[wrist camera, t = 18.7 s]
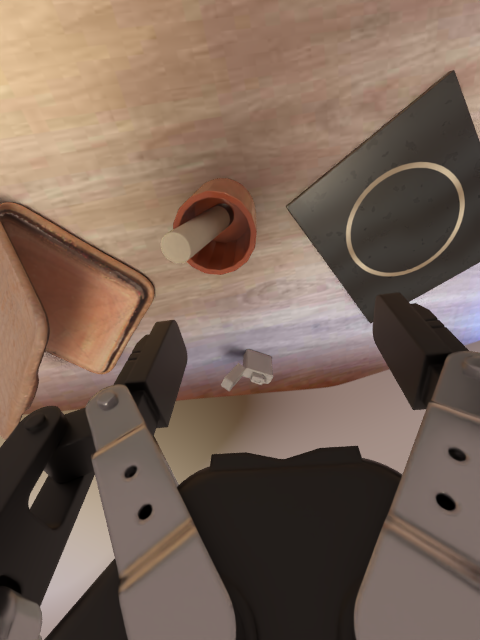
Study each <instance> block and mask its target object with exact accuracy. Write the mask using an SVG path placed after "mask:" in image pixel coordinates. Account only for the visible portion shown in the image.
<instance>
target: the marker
mask: <svg viewBox="0 0 480 640" xmlns="http://www.w3.org/2000/svg"><path fill="white" fill-rule="evenodd" d="M233 219H234V213H233V211H232V209H231V208H230V207H229V206H228V205H227V204H223V203H221V204H218V205H216V206H214V207H212V208H211V209H209V210H207V211H205V212H204V213H202V214H200V215H198V216H196V217H195V218H193V219H191V220H189V221H188V222H186V223H184V224H182V225H181V226H179V227H177V228H175V229H174V230H172V231H170V232H168V233H167V234H165V235H164V236H163V238H162V240H161V249H162V252H163V254H164V256H165V257H166V258H167V259H168V260H169V261H171V262H173V263H175V264H183V263H185V262H187V261H188V260H189V259H190V258H191V257H193V256H194V255H195V254H196V253H197V252H199V251H200V250H201V249H202V248H203V247H205V246H206V245H207V244H208V243H209V242H211V241H212V240H213V239H214V238H215V237H216V236H218V235H219V234H220V233H221V232H222V231H224V230H225V229H226V228H227V227H228V226H230V225H231V224H232V222H233Z"/></svg>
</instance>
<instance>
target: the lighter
mask: <svg viewBox="0 0 480 640" xmlns="http://www.w3.org/2000/svg"><path fill="white" fill-rule="evenodd" d="M242 376H244V377H247V378H250V381H251V382H254V383H257V384H260V385H262V384H263V383H267V384H268V383H270V381H271V379H272V378H273V370H272V357H271V356H269V355H266V354H262V353H259V352H256V351H253V350H250V349H247V350H246V352H245V354H244V356H243V366H242V365H241V364H239V363H238V364H237V365H236V366H235V367H234V368H233V369H232V370H231V371H230V372H229V373H228V374H227V376H226V377H225V378H224V380H223V382H222V384H221V386H222V387H224V388H225V389H227V390H228V391H230V390H231V389H232V387H233V386H234V385H235V384H236V383H237V382H238V380H239V379H240V378H241V377H242Z"/></svg>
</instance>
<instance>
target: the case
mask: <svg viewBox="0 0 480 640" xmlns="http://www.w3.org/2000/svg"><path fill="white" fill-rule="evenodd" d="M153 299H154V288H153V286H152V284H151V283H150V281H149V280H148V279H147V278H145V277H144V276H143V275H141V274H140V273H138V272H137V271H135V270H133V269H131V268H129V267H128V266H126V265H124V264H122V263H121V262H119V261H117V260H115V259H113V258H112V257H110V256H108V255H106V254H104V253H103V252H101V251H99V250H97V249H95V248H94V247H92V246H90V245H88V244H87V243H85V242H83V241H81V240H80V239H78V238H76V237H75V236H73V235H71V234H70V233H68V232H66V231H65V230H63V229H61V228H60V227H58V226H56V225H54V224H53V223H51V222H49V221H48V220H46V219H44V218H43V217H41V216H39V215H37V214H36V213H34V212H32V211H31V210H29V209H27V208H25V207H23V206H21V205H19V204H16V203H12V202H6V203H2V204H0V435H1V437H2V438H4V439H5V440H6V439H7V438H8V437H9V435H10V434H11V433H12V431H13V430H14V429H15V428H16V426H17V425H18V424H19V423H20V420H21V417H22V414H23V412H24V411H26V410H27V409H29V407H30V406H31V404H32V401H33V399H34V397H35V394H36V391H37V388H38V383H39V378H38V371H39V370H38V369H39V366H40V363H41V361H42V358H43V355H44V352H45V351H46V352H48V353H50V354H53V355H55V356H57V357H59V358H61V359H64V360H66V361H68V362H71V363H73V364H75V365H77V366H79V367H82V368H84V369H86V370H88V371H90V372H93V373H97V374H105V373H108V372H110V371H111V370H112V369H113V368H114V366H115V365H116V363H117V361H118V359H119V357H120V356H121V354H122V352H123V350H124V348H125V346H126V345H127V343H128V341H129V339H130V337H131V336H132V334H133V333H134V331H135V329H136V328H137V326H138V324H139V323H140V321H141V319H142V318H143V316H144V314H145V313H146V311H147V310H148V308H149V306H150V305H151V303H152V301H153Z"/></svg>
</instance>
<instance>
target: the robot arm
mask: <svg viewBox="0 0 480 640" xmlns="http://www.w3.org/2000/svg"><path fill="white" fill-rule="evenodd" d="M373 337H374V341H375V344H376V345H377V347H378V349H379V351H380V353H381V354H382V356H383V358H384V360H385V361H386V363H387V365H388V367H389V368H390V370H391V372H392V374H393V376H394V377H395V379H396V381H397V383H398V384H399V386H400V388H401V390H402V391H403V393H404V395H405V397H406V398H407V400H408V402H409V404H410V405H411V407H412V409H413V410H421V409H426V412H425V414H424V417H423V420H422V423H421V425H420V428H419V431H418V434H417V436H416V439H415V442H414V445H413V447H412V450H411V453H410V456H409V458H408V461H407V464H406V467H405V469H404V472H403V475H402V474H401V473H399V472H398V471H396V470H394V469H392V468H390V467H388V466H386V465H383V464H381V463H378V462H376V461H372V460H369V459H365V458H362V457H361V454H360V451H359V448H358V446H347V447H329V448H319V449H316V450H313V451H309V452H306V453H303V454H300V455H297V456H293V457H290V458H287V459H277V458H272V457H266V456H261V455H256V454H251V453H230V454H229V453H228V454H214V455H213V454H212V456H211V464H210V467H207V468H204V469H202V470H200V471H198V472H196V473H194V474H193V475H191V476H190V477H188V478H187V479H186V480H184V481H183V482H182V483H181V484H180V485H179V484H178V482H177V480H176V478H175V477H174V475H173V473H172V470H171V468H170V467H169V465H168V463H167V461H166V459H165V457H164V455H163V453H162V451H161V449H160V447H159V445H158V443H157V441H156V439H155V437H154V433H155V430H156V428H162V427H168V425H169V421H170V418H171V414H172V411H173V408H174V404H175V401H176V398H177V394H178V391H179V388H180V384H181V381H182V377H183V374H184V371H185V367H186V364H187V350H186V347H185V344H184V341H183V338H182V335H181V333H180V330H179V327H178V324H177V322H176V321H175V320H169V321H161V322H156V323H155V325H154V327H153V329H152V331H151V333H150V335H145V336H144V337H143V338H142V339H141V340H140V341H139V342H138V343H137V344H136V346H135V348H134V349H133V351H132V354H131V355H130V356H129V358H128V361H127V362H126V364H125V365H124V367H123V369H122V371H121V372H120V374H119V376H118V378H117V380H116V381H115V383H114V385H111V386H108V387H106V388H104V389H102V390H100V391H99V392H97V393H96V394H95V395H94V396H93V397H92V398H91V399H90V400H89V402H88V403H87V406H86V408H83V409H80V410H77V411H74V412H71V413H68V414H65V415H64V414H63V413H62V411H61V410H60V409H59V408H58V407H56V406H46V407H43V408H40V409H38V410H36V411H34V412H32V413H31V414H29V415H28V416H26V417H25V418H24V419H23V420H22V421H21V422H20V423H19V424H18V425H17V426H16V428H15V429H14V430H13V431H12V433H11V434H10V435H9V437H8V438H7V439H6V441H5V442H4V443H3V445H2V446H1V447H0V640H42V638H41V636H40V631H41V626H42V612H41V609H40V605H41V603H42V600H43V598H44V595H45V593H46V591H47V588H48V586H49V583H50V581H51V579H52V576H53V574H54V571H55V569H56V567H57V564H58V562H59V559H60V557H61V555H62V552H63V550H64V547H65V545H66V543H67V540H68V538H69V535H70V533H71V531H72V528H73V526H74V523H75V521H76V518H77V516H78V514H79V511H80V509H81V506H82V504H83V502H84V499H85V497H86V494H87V492H88V489H89V487H90V485H91V482H92V480H93V477H94V475H95V476H96V480H97V484H98V489H99V493H100V497H101V502H102V505H103V510H104V514H105V518H106V522H107V527H108V531H109V535H110V539H111V543H112V547H113V552H114V556H115V559H114V560H113V561H112V562H111V563H110V564H109V566H108V567H107V568H106V569H105V570H104V571H103V572H102V574H101V575H100V576H99V577H98V578H97V579H96V581H95V582H94V583H93V584H92V585H91V586H90V587H89V589H88V590H87V591H86V592H85V593H84V595H83V596H82V597H81V598H80V599H79V600H78V601H77V603H76V604H75V605H74V606H73V607H72V608H71V609H70V611H69V612H68V613H67V614H66V615H65V616H64V618H63V619H62V620H61V621H60V622H59V623H58V625H57V626H56V627H55V628H54V629H53V630H52V631H51V633H50V634H49V635H48V636H47V637H46V638H45V639H44V640H480V353H478V352H473V351H469V350H468V349H467V348H465V346H464V345H463V344H462V343H461V342H460V341H459V340H458V339H457V338H456V337H455V336H454V335H453V334H452V333H451V332H450V331H449V330H448V329H447V328H446V327H444V325H443V324H442V323H441V322H440V321H439V320H437V317H436V316H435V315H434V314H433V313H432V312H431V311H430V310H428V309H426V308H424V307H422V306H420V305H418V304H416V303H414V304H410V303H409V302H408V301H407V300H406V299H405V297H404V296H403V295H402V294H401V293H399V292H397V293H389V294H381V295H377V296H376V299H375V308H374V319H373ZM43 470H44V471H45V472H46V473H47V474H48V477H47V479H46V481H45V483H44V485H43V486H42V488H41V490H40V492H39V494H38V495H37V497H36V499H35V501H34V503H33V504H32V506H31V508H30V510H29V507H28V500H29V496H30V493H31V491H32V489H33V488H34V486H35V484H36V482H37V481H38V479H39V477H40V475H41V474H42V472H43Z"/></svg>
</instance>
